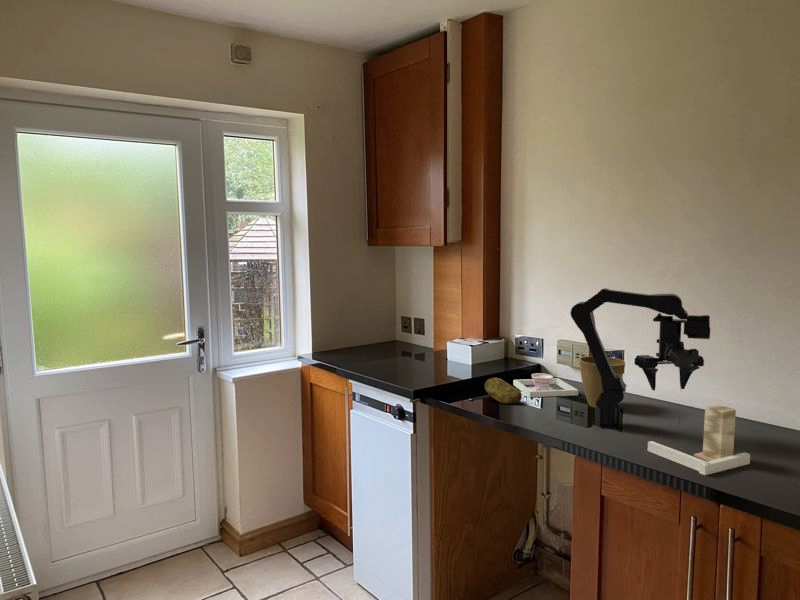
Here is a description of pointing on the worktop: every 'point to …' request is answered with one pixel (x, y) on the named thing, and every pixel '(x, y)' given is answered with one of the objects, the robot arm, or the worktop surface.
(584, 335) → the robot arm
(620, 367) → the plant pot
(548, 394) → the saucer tray
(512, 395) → the potato
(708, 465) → the corner arena
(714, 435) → the birch block
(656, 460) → the worktop surface
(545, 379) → the teacup
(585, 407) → the worktop surface
